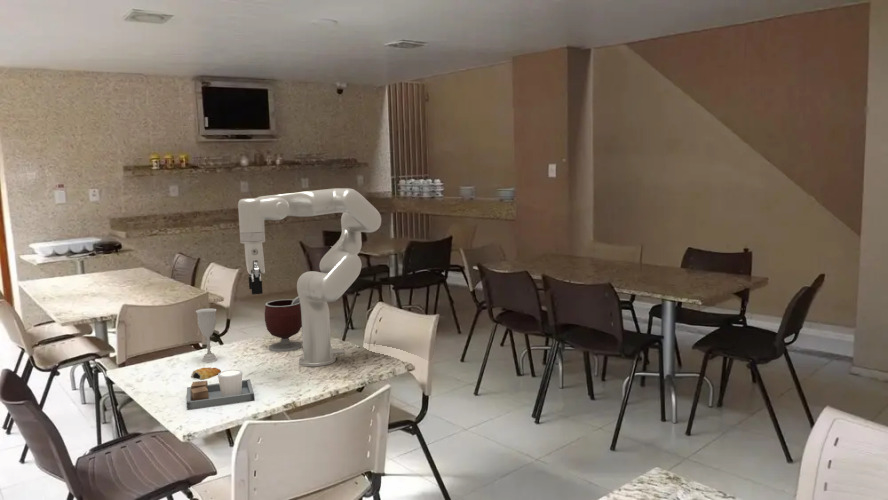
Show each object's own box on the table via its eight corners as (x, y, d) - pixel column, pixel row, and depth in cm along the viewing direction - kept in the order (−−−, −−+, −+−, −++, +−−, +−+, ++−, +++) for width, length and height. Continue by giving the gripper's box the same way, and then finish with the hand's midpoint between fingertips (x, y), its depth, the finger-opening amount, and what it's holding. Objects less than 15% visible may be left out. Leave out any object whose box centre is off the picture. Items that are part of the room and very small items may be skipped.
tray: (250, 388, 200) (250, 379, 199) (254, 403, 187) (254, 393, 186) (187, 397, 193) (186, 387, 193) (187, 413, 180) (186, 402, 180)
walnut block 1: (208, 393, 193) (207, 380, 193) (206, 398, 189) (205, 384, 189) (193, 394, 192) (193, 381, 192) (191, 399, 188) (190, 386, 188)
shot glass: (235, 400, 186) (234, 377, 186) (214, 399, 188) (212, 376, 187) (248, 392, 193) (246, 369, 192) (227, 391, 195) (225, 368, 194)
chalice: (224, 359, 232) (221, 309, 230) (208, 364, 226) (204, 313, 224) (210, 356, 236) (207, 307, 234) (194, 361, 230) (191, 311, 228)
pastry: (212, 373, 217) (212, 361, 217) (226, 376, 214) (226, 364, 213) (189, 381, 209) (188, 369, 209) (203, 384, 206) (202, 372, 205)
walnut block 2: (206, 399, 188) (205, 386, 187) (209, 403, 185) (208, 390, 184) (191, 402, 186) (190, 389, 185) (194, 406, 182) (193, 393, 182)
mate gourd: (270, 354, 237) (267, 300, 235) (263, 345, 250) (260, 294, 247) (312, 348, 243) (309, 296, 241) (304, 340, 256) (301, 290, 253)
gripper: (267, 239, 198) (271, 295, 200) (262, 234, 214) (265, 286, 216) (242, 241, 195) (245, 297, 198) (238, 236, 211) (241, 287, 214)
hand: (255, 291), depth 207 cm, fingers open, 9 cm apart
